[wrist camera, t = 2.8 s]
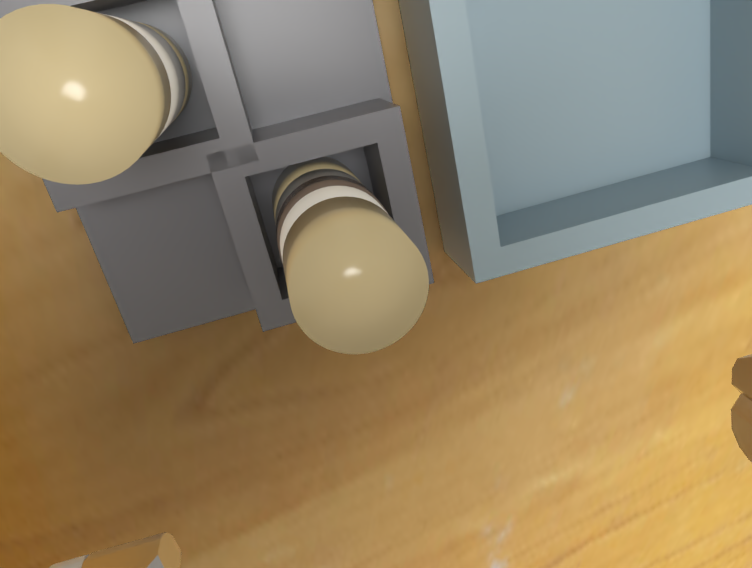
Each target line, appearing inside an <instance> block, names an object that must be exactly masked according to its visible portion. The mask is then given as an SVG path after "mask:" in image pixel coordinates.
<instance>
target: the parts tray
mask: <svg viewBox="0 0 752 568" xmlns="http://www.w3.org/2000/svg"><path fill="white" fill-rule="evenodd" d="M398 1H399V7H400V12H401V18H402V23H403V29H404V34H405V40H406V45H407V50H408V56H409V61H410V67H411V72H412V78H413V83H414V88H415V94H416V99H417V105H418V110H419V116H420V121H421V126H422V132H423V137H424V143H425V148H426V154H427V159H428V165H429V170H430V175H431V181H432V186H433V192H434V197H435V203H436V208H437V213H438V219H439V224H440V230H441V235H442V241H443V246H444V251H445V253H446V254H447V255H448V256H449V257H450V258H451V259H452V260H453V261H454V262H455V263H456V264H457V265H458V266H459V267H460V268H461V269H462V270H463V271H464V272H465V273H466V274H467V275H468V276H469V277H470V278H471V279H472V280H473V281H474V282H475V283H480V282H483V281H487V280H490V279H494V278H497V277H501V276H504V275H508V274H511V273H515V272H518V271H522V270H525V269H529V268H532V267H535V266H539V265H542V264H546V263H549V262H553V261H556V260H560V259H563V258H567V257H570V256H574V255H577V254H581V253H584V252H588V251H591V250H595V249H598V248H602V247H605V246H609V245H612V244H616V243H619V242H622V241H626V240H629V239H633V238H636V237H640V236H643V235H647V234H650V233H654V232H657V231H661V230H664V229H668V228H671V227H675V226H678V225H682V224H685V223H689V222H692V221H696V220H699V219H703V218H706V217H710V216H713V215H716V214H720V213H723V212H727V211H730V210H734V209H737V208H741V207H744V206H748V205H751V204H752V0H398Z"/></svg>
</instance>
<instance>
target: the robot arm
mask: <svg viewBox="0 0 752 568" xmlns="http://www.w3.org/2000/svg"><path fill="white" fill-rule="evenodd" d="M732 385H733V386H734V387H735V388H736V389H737V390H738V391H739V392H740V393H741V394H740V396H739V398H738V399H737V401H736V402H735V404H734V406H733V407H732V409H731V421H732V431H733V433H734V435H735V438H736V440H737V443H738V445H739V447H740V448H741V450H742V451H743V452H744V454H745V455H746V456H747V458H748V459H749V460H750V461H751V462H752V354H751V355H747V356H744V357H741V358H738V359H737V360H736V362H735V364H734V366H733V368H732ZM181 555H182V552H181V550H180V548H179V546H178V545H177V543H176V541H175V539H174V537H173V535H172V534H169V533H167V532H164V533H161V534H157V535H153V536H150V537H146V538H143V539H139V540H136V541H132V542H128V543H125V544H121V545H118V546H114V547H111V548H107V549H103V550H100V551H96V552H93V553H91V554H90V555H84V556H80V557H77V558H74V559H70V560H67V561H63V562H60V563H56V564H53V565H51V566H50V567H49V568H180V563H181Z"/></svg>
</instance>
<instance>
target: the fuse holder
mask: <svg viewBox="0 0 752 568" xmlns="http://www.w3.org/2000/svg"><path fill="white" fill-rule="evenodd" d="M38 4H59V5H67V6H71V7H76V8H80V9H84V10H89V11H93V12H97V13H101V14H106V15H110V16H114V17H118V18H123V19H127V20H131V21H136V22H140V23H144V24H148V25H151V26H154V27H156V28H158V29H160V30H162V31H163V32H165V33H166V34H168V35H169V36H170V37H171V38H172V39H173V40H175V42H176V43H177V44H178V45H179V46H180V48H181V49H182V51H183V52H184V54H185V56H186V58H187V60H188V62H189V65H190V69H191V74H192V89H191V94H190V98H189V100H188V103H187V105H186V106H185V108H184V110H183V111H182V112H181V113H180V115H179V116H178V117H177V118H176V119H175V120H174V121H173V122H172V123H171V124H170V125H169V126H168V127H167V129H166V130H165V131H164V132H163V133H162V134H161V135H160V136H159V137H158V138H157V139H156V140H155V142H154V143H153V144H152V145H151V146H150V147H149V148H148V149H147V150H146V151H145V152H144V153H143V154H142V156H141V157H140V158H139V159H138V160H137V161H136V162H135V163H134V164H132V165H131V166H130V167H129V168H128V169H126V170H125V171H123V172H122V173H120V174H118V175H116V176H114V177H112V178H110V179H107V180H104V181H101V182H96V183H91V184H79V185H75V184H63V183H58V182H53V181H49V180H46V179H43V178H42V179H43V182H44V184H45V186H46V188H47V191H48V193H49V195H50V198H51V200H52V202H53V204H54V207H55V209H56V211H57V212H61V211H65V210H69V209H72V208H76V209H77V212H78V214H79V217H80V219H81V221H82V224H83V226H84V228H85V231H86V233H87V235H88V238H89V240H90V242H91V245H92V247H93V250H94V252H95V254H96V257H97V259H98V261H99V264H100V266H101V268H102V271H103V273H104V275H105V278H106V280H107V283H108V285H109V287H110V290H111V292H112V294H113V297H114V299H115V301H116V304H117V306H118V308H119V311H120V313H121V316H122V318H123V320H124V323H125V325H126V327H127V330H128V332H129V334H130V337H131V339H132V341H133V344H134V343H137V342H141V341H144V340H148V339H151V338H155V337H159V336H162V335H166V334H169V333H173V332H176V331H180V330H184V329H187V328H191V327H194V326H198V325H201V324H205V323H208V322H212V321H216V320H219V319H223V318H226V317H230V316H233V315H237V314H240V313H244V312H248V311H251V310H255V309H256V312H257V315H258V318H259V321H260V324H261V327H262V330H263V332H264V331H267V330H271V329H274V328H278V327H281V326H285V325H288V324H292V323H295V322H296V320H295V318H294V315H293V313H292V310H291V305H290V301H289V295H288V290H287V284H286V279H285V273H284V268H283V263H282V261H281V258H280V254H279V249H278V243H277V237H276V223H275V218H274V212H273V207H272V194H273V189H274V186H275V183H276V181H277V179H278V178H279V176H280V175H281V173H282V172H283V171H284V170H285V169H286V168H287V167H288V166H289V165H293V164H297V163H301V162H305V161H309V160H313V159H316V158H320V157H324V156H325V157H330V158H333V159H335V160H337V161H339V162H341V163H342V164H344V165H345V166H346V167H347V168H349V169H350V171H351V172H352V173H353V174H354V175H355V176H356V177H357V179H358V180H359V181H360V182H361V183H362V184H363V185H364V186H365V187H366V188H367V189H368V190H370V191H371V192H372V194H373V195H374V196H375V197H376V198H377V199H378V200H379V202H380V203H381V204H382V205H383V206H384V208H385V209H386V211H387V213H388V214H389V216H390V217H391V218H392V219H393V220H394V221H395V222H396V224H397V225H398V226H399V227H400V228H401V229H402V230H403V232H404V233H405V234H406V235H407V236H408V237H409V239H410V240H411V241H412V242H413V243H414V244H415V246H416V247H417V248H418V250H419V251H420V253H421V254H422V256H423V259H424V261H425V263H426V267H427V270H428V277H429V284H432V283H434V279H433V274H432V269H431V263H430V258H429V253H428V248H427V243H426V238H425V233H424V228H423V222H422V217H421V212H420V207H419V202H418V197H417V192H416V187H415V182H414V176H413V171H412V166H411V161H410V156H409V151H408V146H407V141H406V135H405V130H404V125H403V120H402V115H401V110H400V106H399V105H396V104H393V102H392V97H391V92H390V87H389V82H388V77H387V72H386V67H385V62H384V57H383V52H382V47H381V42H380V37H379V32H378V27H377V22H376V17H375V12H374V7H373V1H372V0H0V18H2V17H3V16H5V15H6V14H8V13H11V12H13V11H15V10H17V9H20V8H23V7H27V6H31V5H38Z"/></svg>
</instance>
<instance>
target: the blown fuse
mask: <svg viewBox="0 0 752 568" xmlns="http://www.w3.org/2000/svg"><path fill="white" fill-rule="evenodd" d="M272 207H273V212H274V218H275V223H276V237H277V243H278V249H279V254H280V258H281V261H282V263H283V268H284V273H285V279H286V284H287V290H288V295H289V301H290V305H291V310H292V313H293V315H294V318H295V320H296V322H297V323H298V325H299V327H300V328H301V329H302V331H303V332H304V333H305V334H306V335H307V336H308V337H309V338H310V339H311V340H313V341H314V342H315V343H317V344H318V345H320V346H322V347H324V348H326V349H329V350H331V351H334V352H338V353H344V354H365V353H370V352H375V351H378V350H381V349H383V348H386V347H388V346H390V345H392V344H393V343H395V342H396V341H398V340H399V339H401V338H402V337H403V336H404V335H406V334H407V333H408V332H409V330H410V329H411V328H412V327H413V326H414V325H415V323H416V322H417V321H418V319H419V317H420V316H421V314H422V312H423V309H424V307H425V304H426V301H427V297H428V291H429V277H428V270H427V267H426V263H425V261H424V259H423V256H422V254H421V253H420V251H419V250H418V248H417V247H416V246H415V244H414V243H413V242H412V241H411V240H410V239H409V237H408V236H407V235H406V234H405V233H404V232H403V230H402V229H401V228H400V227H399V226H398V225H397V224H396V222H395V221H394V220H393V219H392V218H391V217H390V216H389V214H388V213H387V211H386V209H385V208H384V206H383V205H382V204H381V203H380V202H379V200H378V199H377V198H376V197H375V196H374V195H373V194H372V192H371V191H370V190H368V189H367V188H366V187H365V186H364V185H363V184H362V183H361V182H360V181H359V180H358V179H357V177H356V176H355V175H354V174H353V173H352V172H351V171H350V169H349V168H347V167H346V166H345V165H344V164H342V163H341V162H339V161H337V160H335V159H333V158H330V157H325V156H324V157H320V158H316V159H313V160H309V161H305V162H301V163H297V164H293V165H289V166H288V167H287V168H286V169H285V170H284V171H283V172H282V173H281V175H280V176H279V178H278V179H277V181H276V183H275V186H274V189H273V194H272Z"/></svg>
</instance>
